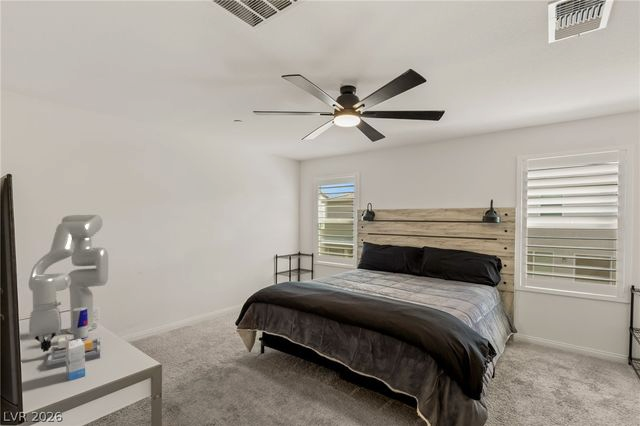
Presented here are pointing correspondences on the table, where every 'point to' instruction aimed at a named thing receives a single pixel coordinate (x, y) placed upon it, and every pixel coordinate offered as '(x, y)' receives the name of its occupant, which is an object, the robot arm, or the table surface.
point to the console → (59, 355)
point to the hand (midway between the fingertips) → (46, 350)
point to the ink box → (75, 358)
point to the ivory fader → (61, 343)
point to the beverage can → (80, 323)
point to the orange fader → (88, 345)
